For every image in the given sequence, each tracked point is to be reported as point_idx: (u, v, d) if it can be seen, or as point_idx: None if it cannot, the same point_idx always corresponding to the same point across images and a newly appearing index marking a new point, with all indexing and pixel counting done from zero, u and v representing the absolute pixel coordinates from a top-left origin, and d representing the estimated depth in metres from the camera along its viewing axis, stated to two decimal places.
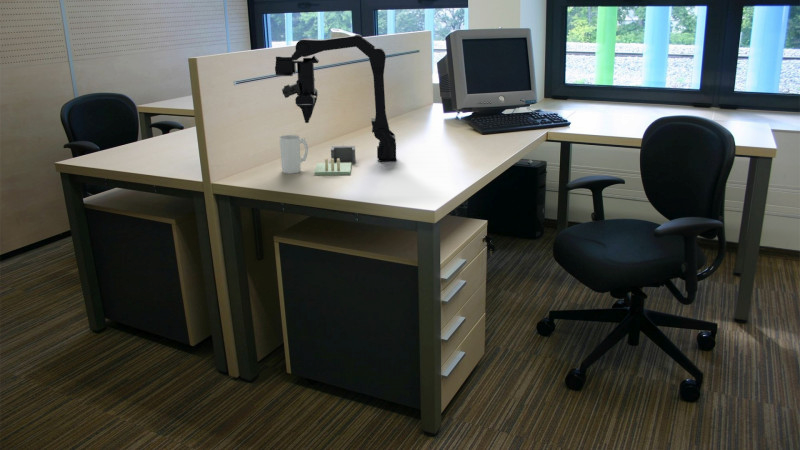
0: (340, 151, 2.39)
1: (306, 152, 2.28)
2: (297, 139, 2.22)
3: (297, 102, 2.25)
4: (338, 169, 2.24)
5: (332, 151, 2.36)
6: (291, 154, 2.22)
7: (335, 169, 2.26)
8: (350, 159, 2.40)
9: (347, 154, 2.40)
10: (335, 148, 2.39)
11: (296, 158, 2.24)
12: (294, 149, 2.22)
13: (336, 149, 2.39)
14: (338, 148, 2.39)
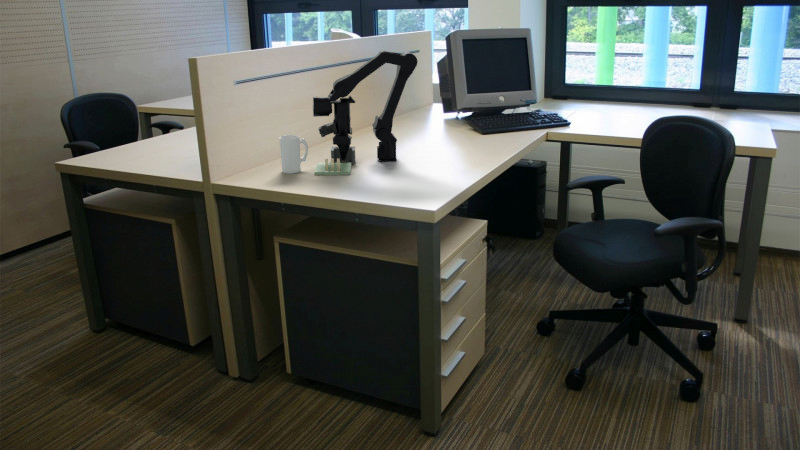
0: None
1: (306, 152, 2.28)
2: (297, 139, 2.22)
3: (334, 142, 2.28)
4: (338, 169, 2.24)
5: (332, 152, 2.34)
6: (291, 154, 2.22)
7: (335, 169, 2.26)
8: (350, 160, 2.39)
9: (347, 155, 2.39)
10: (335, 149, 2.38)
11: (296, 158, 2.24)
12: (294, 149, 2.22)
13: (336, 150, 2.38)
14: (338, 149, 2.38)
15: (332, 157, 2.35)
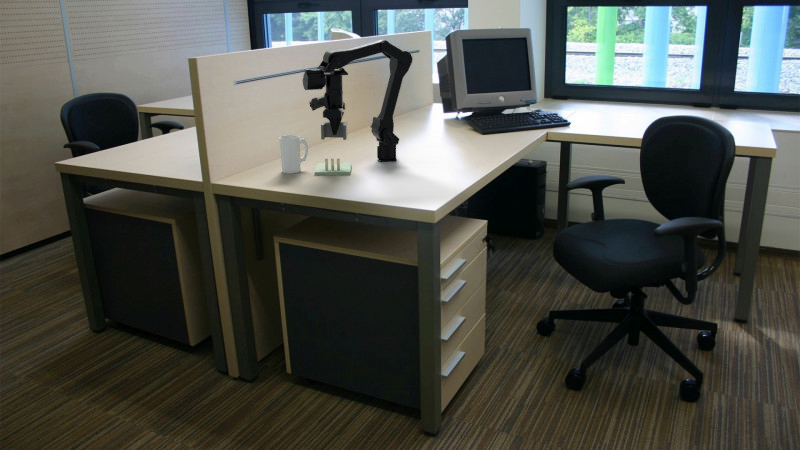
0: None
1: (306, 152, 2.28)
2: (297, 139, 2.22)
3: (324, 115, 2.19)
4: (338, 169, 2.24)
5: (322, 126, 2.25)
6: (291, 154, 2.22)
7: (335, 169, 2.26)
8: (341, 136, 2.30)
9: (338, 130, 2.29)
10: (326, 124, 2.28)
11: (296, 158, 2.24)
12: (294, 149, 2.22)
13: (327, 125, 2.28)
14: (329, 124, 2.28)
15: (322, 132, 2.26)
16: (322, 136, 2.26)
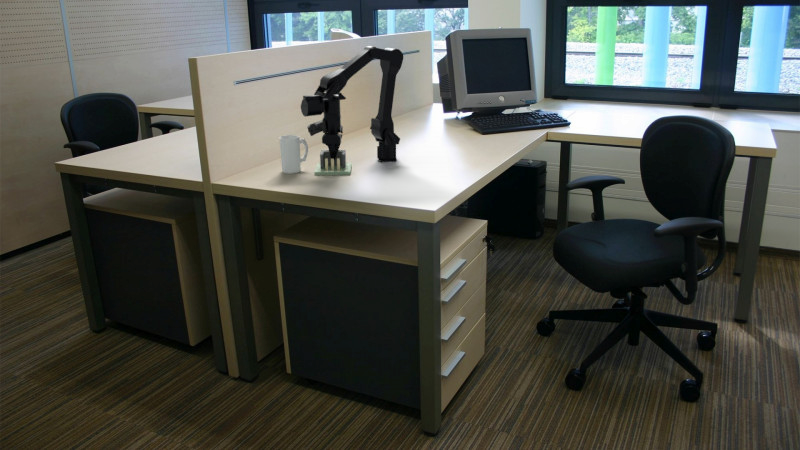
0: (330, 156, 2.29)
1: (306, 152, 2.28)
2: (297, 139, 2.22)
3: (324, 141, 2.19)
4: (338, 169, 2.24)
5: (322, 156, 2.25)
6: (291, 154, 2.22)
7: (335, 169, 2.26)
8: (340, 164, 2.30)
9: None
10: (324, 153, 2.28)
11: (296, 158, 2.24)
12: (294, 149, 2.22)
13: (326, 154, 2.29)
14: (328, 153, 2.28)
15: (321, 161, 2.26)
16: (321, 165, 2.26)
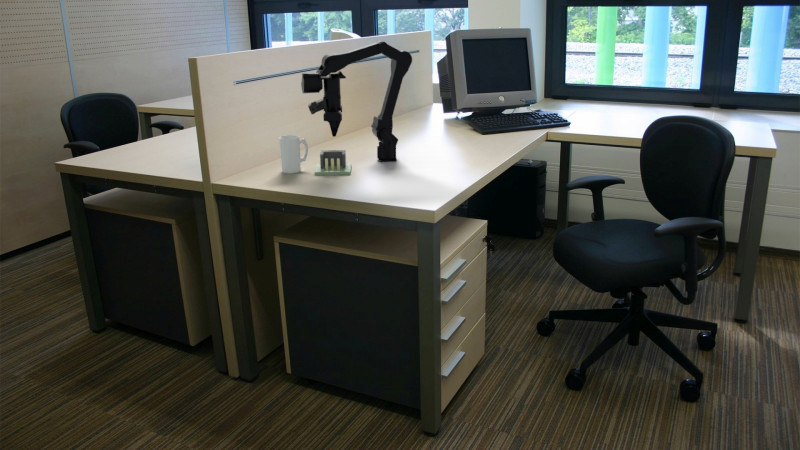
0: (330, 156, 2.29)
1: (306, 152, 2.28)
2: (297, 139, 2.22)
3: (325, 119, 2.22)
4: (338, 169, 2.24)
5: (322, 156, 2.25)
6: (291, 154, 2.22)
7: (335, 169, 2.26)
8: (340, 164, 2.30)
9: None
10: (324, 153, 2.28)
11: (296, 158, 2.24)
12: (294, 149, 2.22)
13: (326, 154, 2.29)
14: (328, 153, 2.28)
15: (321, 161, 2.26)
16: (321, 165, 2.26)
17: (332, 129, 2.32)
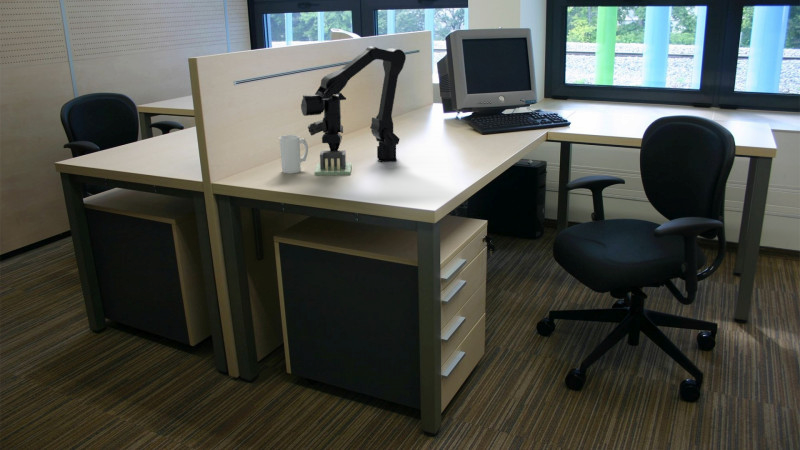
0: (330, 157, 2.28)
1: (306, 152, 2.28)
2: (297, 139, 2.22)
3: (324, 141, 2.21)
4: (338, 169, 2.24)
5: (321, 156, 2.24)
6: (291, 154, 2.22)
7: (335, 169, 2.26)
8: (340, 164, 2.29)
9: None
10: (324, 153, 2.28)
11: (296, 158, 2.24)
12: (294, 149, 2.22)
13: (325, 154, 2.28)
14: (328, 153, 2.28)
15: (321, 161, 2.25)
16: (321, 166, 2.26)
17: (331, 150, 2.31)
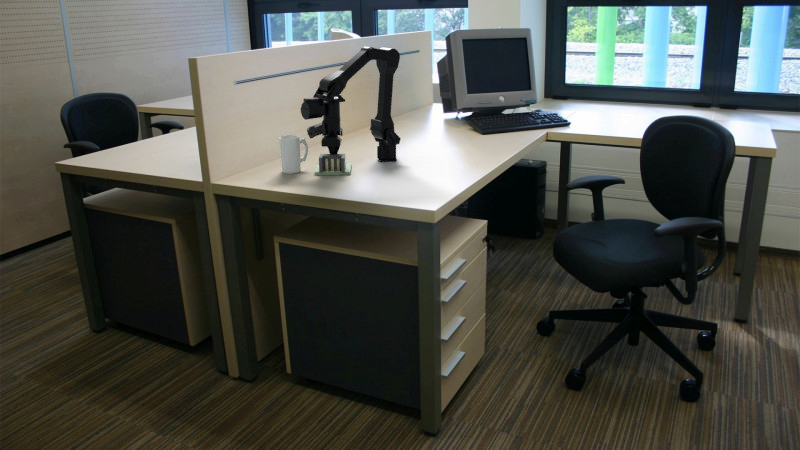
0: (329, 160, 2.24)
1: (306, 152, 2.28)
2: (297, 139, 2.22)
3: (323, 144, 2.17)
4: (338, 169, 2.24)
5: (320, 159, 2.20)
6: (291, 154, 2.22)
7: None
8: (340, 168, 2.25)
9: (336, 163, 2.24)
10: (323, 156, 2.23)
11: (296, 158, 2.24)
12: (294, 149, 2.22)
13: (324, 157, 2.24)
14: (327, 156, 2.23)
15: (320, 165, 2.21)
16: (320, 169, 2.21)
17: (331, 153, 2.26)
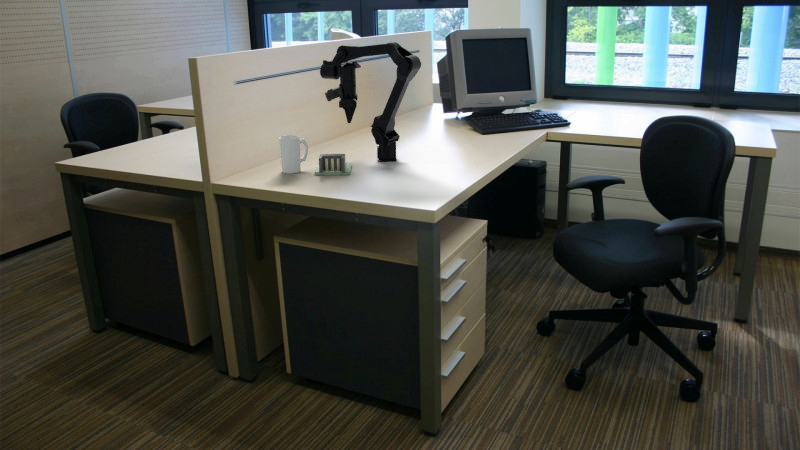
0: (329, 160, 2.24)
1: (306, 152, 2.28)
2: (297, 139, 2.22)
3: (340, 105, 2.34)
4: (338, 169, 2.24)
5: (320, 159, 2.20)
6: (291, 154, 2.22)
7: None
8: (340, 168, 2.25)
9: (336, 163, 2.24)
10: (323, 156, 2.23)
11: (296, 158, 2.24)
12: (294, 149, 2.22)
13: (324, 157, 2.24)
14: (327, 156, 2.23)
15: (320, 165, 2.21)
16: (320, 169, 2.21)
17: (347, 116, 2.43)
